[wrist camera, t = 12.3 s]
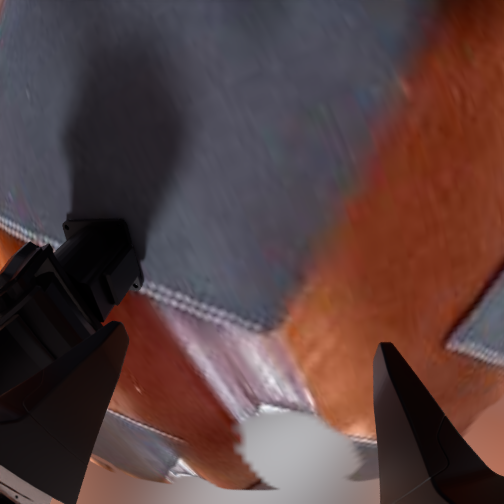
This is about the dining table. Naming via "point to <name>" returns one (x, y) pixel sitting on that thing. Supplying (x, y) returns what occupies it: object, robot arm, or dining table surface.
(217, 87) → the dining table surface
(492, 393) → the dining table surface
